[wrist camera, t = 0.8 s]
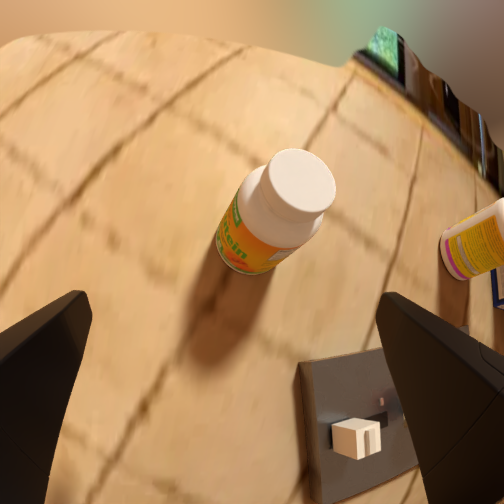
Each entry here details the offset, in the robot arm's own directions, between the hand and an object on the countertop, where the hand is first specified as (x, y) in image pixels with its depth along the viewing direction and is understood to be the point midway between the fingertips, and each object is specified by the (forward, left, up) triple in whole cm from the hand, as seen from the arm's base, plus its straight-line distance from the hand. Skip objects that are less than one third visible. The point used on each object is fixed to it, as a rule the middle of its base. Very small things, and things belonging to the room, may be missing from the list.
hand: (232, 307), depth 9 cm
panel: (-9, -18, -13) cm, 24 cm away
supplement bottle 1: (+7, -5, -14) cm, 16 cm away
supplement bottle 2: (+6, -31, -14) cm, 35 cm away
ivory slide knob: (-9, -10, -11) cm, 17 cm away
